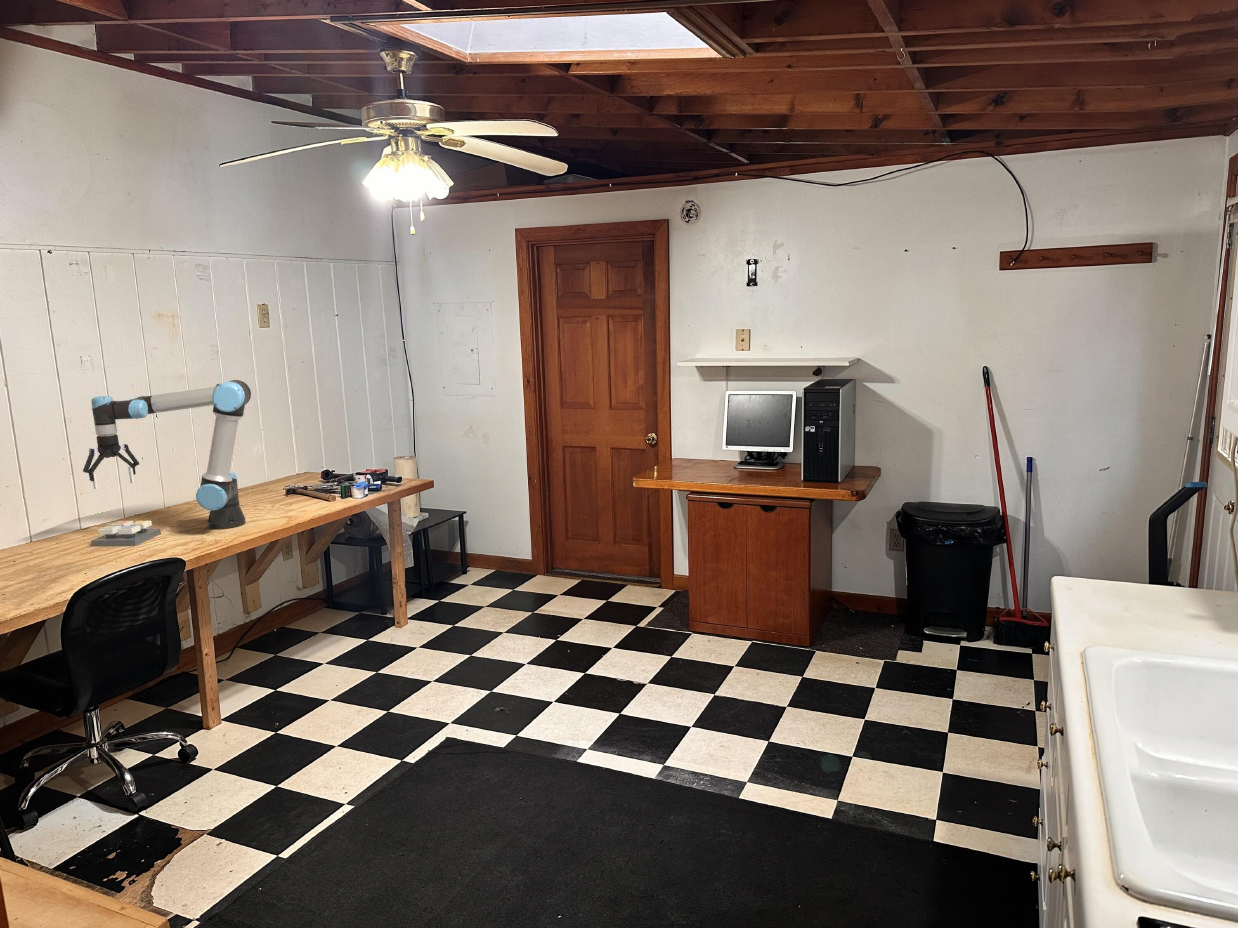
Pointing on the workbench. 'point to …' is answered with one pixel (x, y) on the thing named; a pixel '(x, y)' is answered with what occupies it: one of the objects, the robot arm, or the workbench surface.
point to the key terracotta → (122, 523)
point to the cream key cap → (142, 525)
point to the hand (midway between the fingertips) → (114, 485)
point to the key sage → (109, 531)
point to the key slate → (129, 531)
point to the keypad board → (126, 539)
